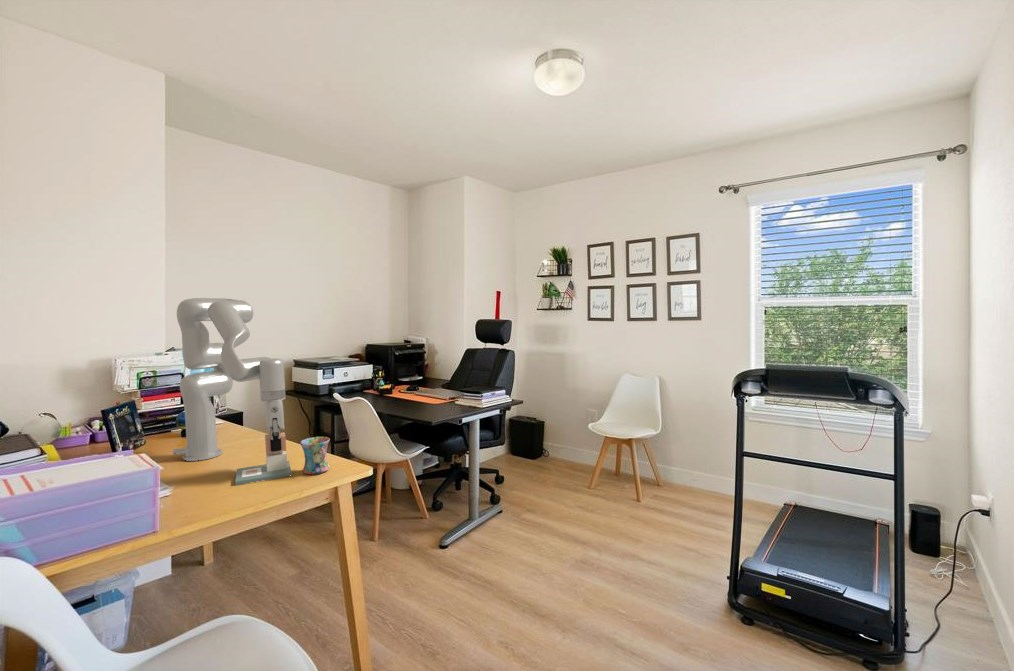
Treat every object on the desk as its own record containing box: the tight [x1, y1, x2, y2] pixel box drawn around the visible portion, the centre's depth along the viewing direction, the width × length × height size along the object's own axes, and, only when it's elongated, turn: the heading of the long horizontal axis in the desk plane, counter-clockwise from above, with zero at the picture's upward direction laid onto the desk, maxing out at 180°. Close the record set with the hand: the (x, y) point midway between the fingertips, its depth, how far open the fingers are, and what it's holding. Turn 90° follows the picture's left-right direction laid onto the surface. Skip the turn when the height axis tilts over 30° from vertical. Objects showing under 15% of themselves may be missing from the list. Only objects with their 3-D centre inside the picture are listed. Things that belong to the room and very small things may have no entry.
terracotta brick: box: [264, 431, 287, 455], centre depth 160 cm, size 6×6×5 cm
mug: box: [299, 436, 331, 475], centre depth 158 cm, size 12×9×11 cm
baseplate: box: [235, 450, 293, 486], centre depth 158 cm, size 16×14×7 cm
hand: (275, 447), depth 160 cm, fingers closed on terracotta brick, 5 cm apart
